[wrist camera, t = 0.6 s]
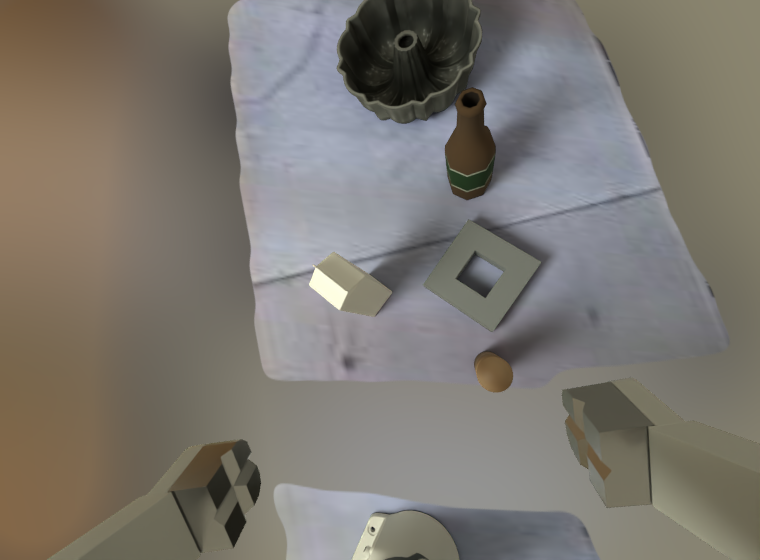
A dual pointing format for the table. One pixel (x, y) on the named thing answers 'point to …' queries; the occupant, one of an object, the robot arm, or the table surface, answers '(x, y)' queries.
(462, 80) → the bundt pan
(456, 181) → the beer bottle
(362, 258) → the table surface
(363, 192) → the table surface
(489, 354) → the dowel
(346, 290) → the milk
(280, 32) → the table surface
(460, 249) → the socket block
